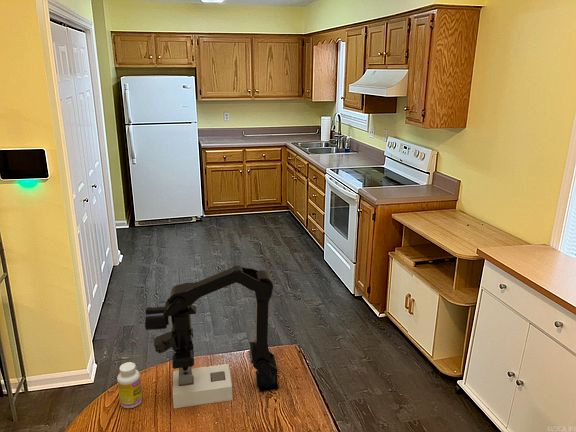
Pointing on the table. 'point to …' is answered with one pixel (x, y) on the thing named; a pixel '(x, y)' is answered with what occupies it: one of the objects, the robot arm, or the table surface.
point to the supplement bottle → (129, 385)
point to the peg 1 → (185, 377)
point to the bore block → (202, 387)
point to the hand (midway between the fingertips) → (185, 369)
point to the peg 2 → (217, 376)
